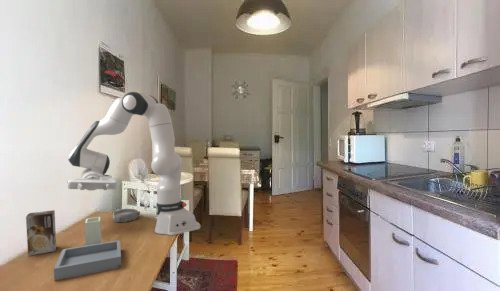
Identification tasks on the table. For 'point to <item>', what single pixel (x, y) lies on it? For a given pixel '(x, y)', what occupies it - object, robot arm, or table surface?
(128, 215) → the dish
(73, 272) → the grey tray
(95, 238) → the small tall open container
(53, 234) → the coffee box
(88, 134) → the robot arm
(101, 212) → the table surface
